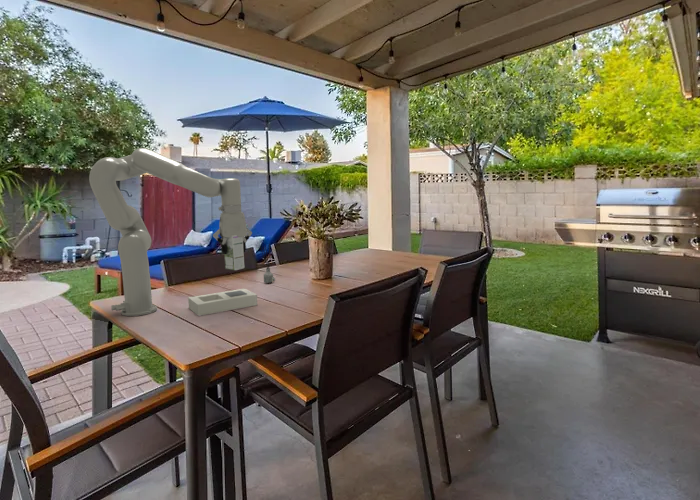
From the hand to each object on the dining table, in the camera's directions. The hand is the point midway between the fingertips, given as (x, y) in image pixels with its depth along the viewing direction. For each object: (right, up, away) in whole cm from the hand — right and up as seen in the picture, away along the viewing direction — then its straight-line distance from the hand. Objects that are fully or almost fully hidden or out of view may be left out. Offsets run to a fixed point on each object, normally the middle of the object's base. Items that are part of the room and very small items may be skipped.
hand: (233, 252), depth 170 cm
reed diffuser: (+5, -16, +42) cm, 45 cm away
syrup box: (0, -7, +1) cm, 7 cm away
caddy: (-4, -22, 0) cm, 23 cm away
